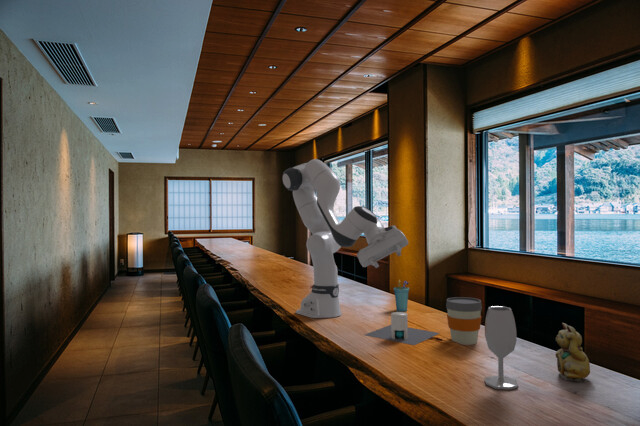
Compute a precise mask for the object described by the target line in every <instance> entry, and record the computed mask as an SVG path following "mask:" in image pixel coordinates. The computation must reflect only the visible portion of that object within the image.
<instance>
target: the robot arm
mask: <svg viewBox="0 0 640 426" xmlns="http://www.w3.org/2000/svg"><path fill="white" fill-rule="evenodd" d="M281 179H282V184H283V186H284V187H285V188H286V190H288V191H291V192H292V197H293V201H294V204H295V206H296V209H297V212H298V213H299V216H300V219H301V221H302V223H303V224H304V226H305V227H306V229H308V230H309V232H310V233H311V235H310V236H309V237H308V238H307V239H306V249H307V251H308V252H309V254H310V257H311V261H312V266H313V284H312V285H311V286H309V289H311V291H310V292H309V293H308V294H307V295H306V296H305V297H304V298H303V299H302V300H301V302H300V308H299V309H297V310H296V311H295V314H297V315H301V316H304V317H308V318H311V319H323V318H325V319H327V318H330V319H331V318H336V317H339V316H342V311H341V306H340V305H341V304H340V300H339V299H340V298H339V292H340V288H339V286H340V285H339V283H338V280H339V279H338V277H339V276H338V274H339V273H338V266H337V265H336V262H335V258H334V254H335V253H336V252H338V251H339V250H340V249H341V248H351V247H353V246H354V245H355V243H356V242H357V240H358V239H359V238H360V236H362V234H363V236H364V237H365V239H366V242H367V246H366V247H363V248H361V249H360V250H359V251H358V252H357V253H356V258H357V259H358V261H359V263H360V265H361V266H362V268H366V267H368V266H373V267H374V268H375V269H377V268H379V267H380V265H379V263H378V261H380V260H382V259H384V258H386V257H388V256H389V255H391V254H393V253H396V255H397V257H400V256H402V253H401V252H402V249H403V248H404V247H407V246H408V245H409V240H408V239H407V237H406V235H405V234H404V233H403V232H402V230H400V229H398V228H397V226H396V225H390V226H387V227H386V226H384V224H383V223H382V221H381V220H380V219H379V218H378V217H377V216H376V214H375V213H374V212H373V211H372V210H371V209H369V208H367V207H366V206H362V205H359V206H358V205H357V206H354V207H353V208H352V209H351V210H350V211H349V212H348V213H347V214H346V216H345V217H344V219H342V221H341V222H340V220H339V218H338V217H337V216H336V214H335V212H334V207H335V206H334V205H335V202H336V199H337V197H338V196H339V192H340V189H341V182H340V179H339V177H338V175H336V173H335V172H334V171H333V169H331V168H330V166H329V165H327V164H326V163H325V162H323V160H320V159H318V158H314V159H311V160H309V161H308V162H305V163H301V164H298V165H295V166H293V167H289V168H287V169H285V170H284V171H283V172H282V176H281Z"/></svg>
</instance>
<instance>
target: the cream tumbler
mask: <svg viewBox="0 0 640 426" xmlns="http://www.w3.org/2000/svg"><path fill="white" fill-rule="evenodd" d="M408 324H409V322H408V313H407V312H400V311H393V312H391V313H390V325H391V338H392V339H395V336H396V331H397V330H398V331H403V333H404V335H403V336H404V339H405V340H406V339H408V327H409V325H408Z"/></svg>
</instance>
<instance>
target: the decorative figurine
mask: <svg viewBox="0 0 640 426" xmlns="http://www.w3.org/2000/svg"><path fill="white" fill-rule="evenodd" d="M561 325H562V327H563V329H561V330H559V331H558V334H557V335H556V337H555V342H557V345H559V347H561V348H560V349H558V350H557V351H556V353H555V358H556V366H557V371H558V372H559V375H560V376H561V377H562V378H563V379H564V380H565V381H574V382H585V381H584V379H585V378H588V377H589V375H590V374H591V365H590V359H589V358H588V356H587V354H586V353H585V352H584V351H583V347H582V346H581V345H582V344H583V337H582V335H581V334H580V333H579V332H578V331H576V329H575V328H574V327H573V326H571V325H568V324H567V323H564V322H561Z"/></svg>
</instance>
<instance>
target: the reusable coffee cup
mask: <svg viewBox="0 0 640 426" xmlns="http://www.w3.org/2000/svg"><path fill="white" fill-rule="evenodd" d="M482 305H483V304H482V300H481V299H479V298H475V297H467V296H466V297H465V296H463V297H462V296H460V297H459V296H455V297H447V299H446V303H445V307H446V310H447V314H446V318H447V325H448V328H449V331H450V338H451V339H450V340H451V341H452V342H454V343H457V344H458V345H462V346H463V345H465V346H472V345H476V344H477V343H478V340H479V331H480V330H481V324H482V315H481V312H482V310H483V306H482Z"/></svg>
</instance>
